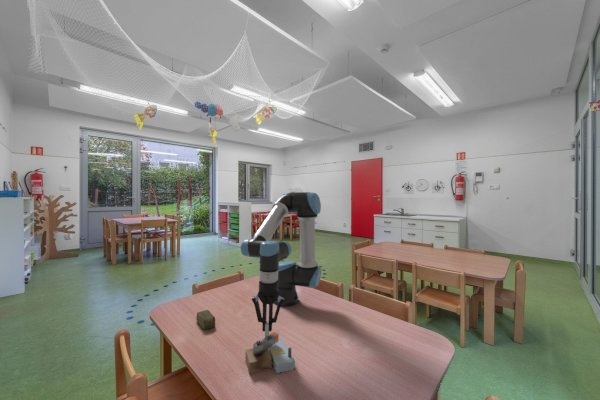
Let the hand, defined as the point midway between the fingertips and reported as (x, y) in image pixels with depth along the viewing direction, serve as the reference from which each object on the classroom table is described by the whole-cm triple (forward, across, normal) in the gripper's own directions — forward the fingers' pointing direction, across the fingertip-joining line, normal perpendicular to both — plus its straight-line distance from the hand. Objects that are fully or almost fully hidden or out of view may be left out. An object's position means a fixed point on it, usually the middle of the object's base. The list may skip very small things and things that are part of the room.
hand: (266, 338), depth 101 cm
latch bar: (+1, 0, -4) cm, 4 cm away
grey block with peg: (+5, +6, -4) cm, 9 cm away
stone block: (+6, -33, +20) cm, 39 cm away
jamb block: (+5, -2, -8) cm, 10 cm away
